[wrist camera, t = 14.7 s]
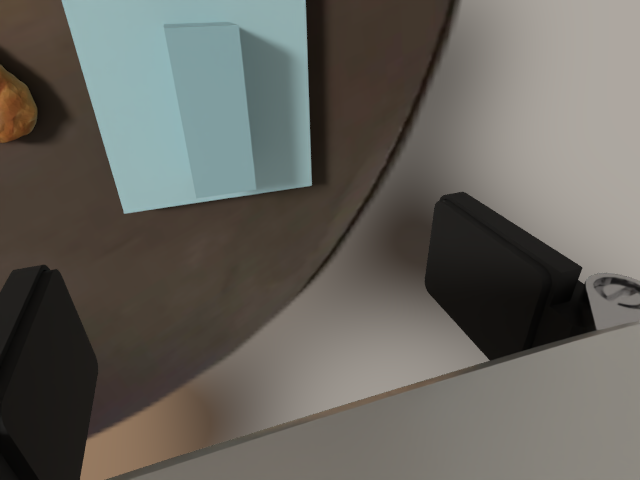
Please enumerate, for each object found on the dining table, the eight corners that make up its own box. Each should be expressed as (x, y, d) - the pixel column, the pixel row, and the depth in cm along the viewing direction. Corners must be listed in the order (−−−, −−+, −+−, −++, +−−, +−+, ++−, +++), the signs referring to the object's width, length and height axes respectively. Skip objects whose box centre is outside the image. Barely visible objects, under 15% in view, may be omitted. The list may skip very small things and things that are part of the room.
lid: (63, -17, 25) (36, -22, 19) (295, -20, 29) (327, -25, 23) (126, 201, 32) (118, 242, 27) (304, 176, 36) (329, 207, 31)
